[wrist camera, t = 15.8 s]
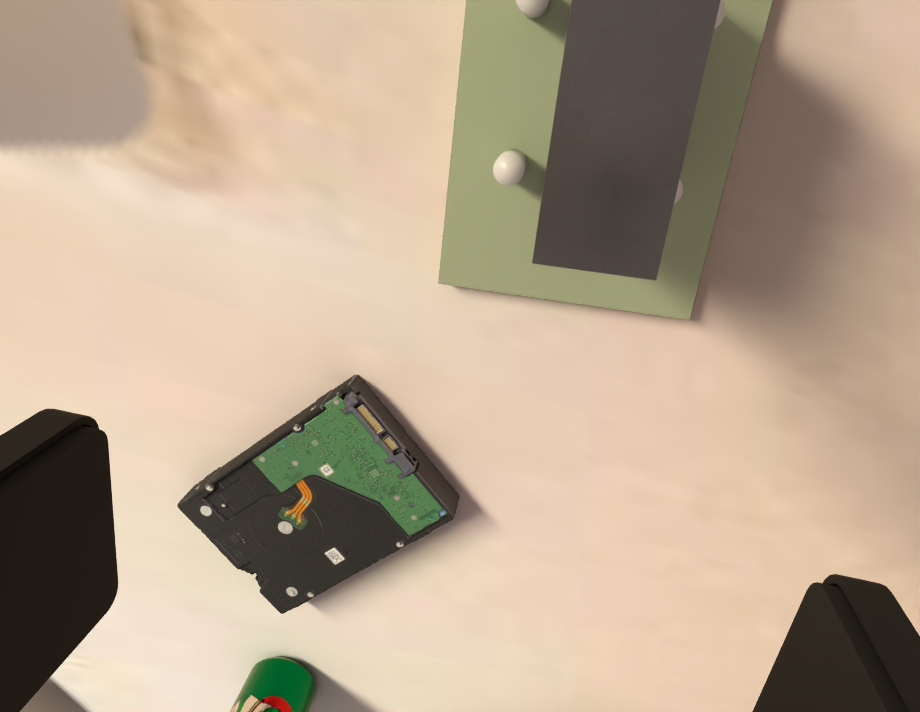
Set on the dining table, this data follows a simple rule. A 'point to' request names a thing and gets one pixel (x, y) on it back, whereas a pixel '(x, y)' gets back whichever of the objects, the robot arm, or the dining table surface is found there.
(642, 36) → the dark grey thick block
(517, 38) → the dock
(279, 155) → the dining table surface
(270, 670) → the soda can
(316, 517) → the disk drive
